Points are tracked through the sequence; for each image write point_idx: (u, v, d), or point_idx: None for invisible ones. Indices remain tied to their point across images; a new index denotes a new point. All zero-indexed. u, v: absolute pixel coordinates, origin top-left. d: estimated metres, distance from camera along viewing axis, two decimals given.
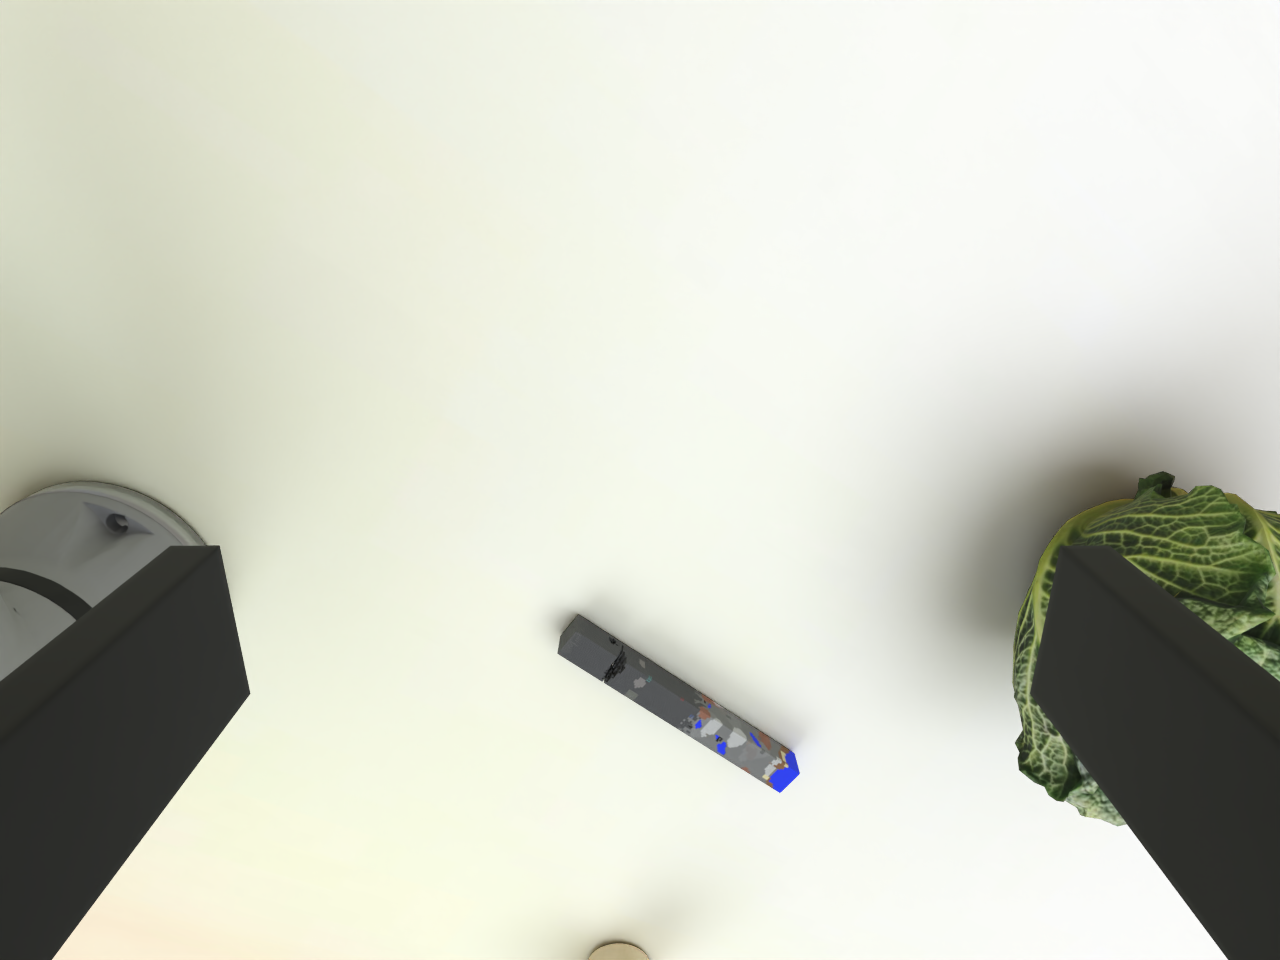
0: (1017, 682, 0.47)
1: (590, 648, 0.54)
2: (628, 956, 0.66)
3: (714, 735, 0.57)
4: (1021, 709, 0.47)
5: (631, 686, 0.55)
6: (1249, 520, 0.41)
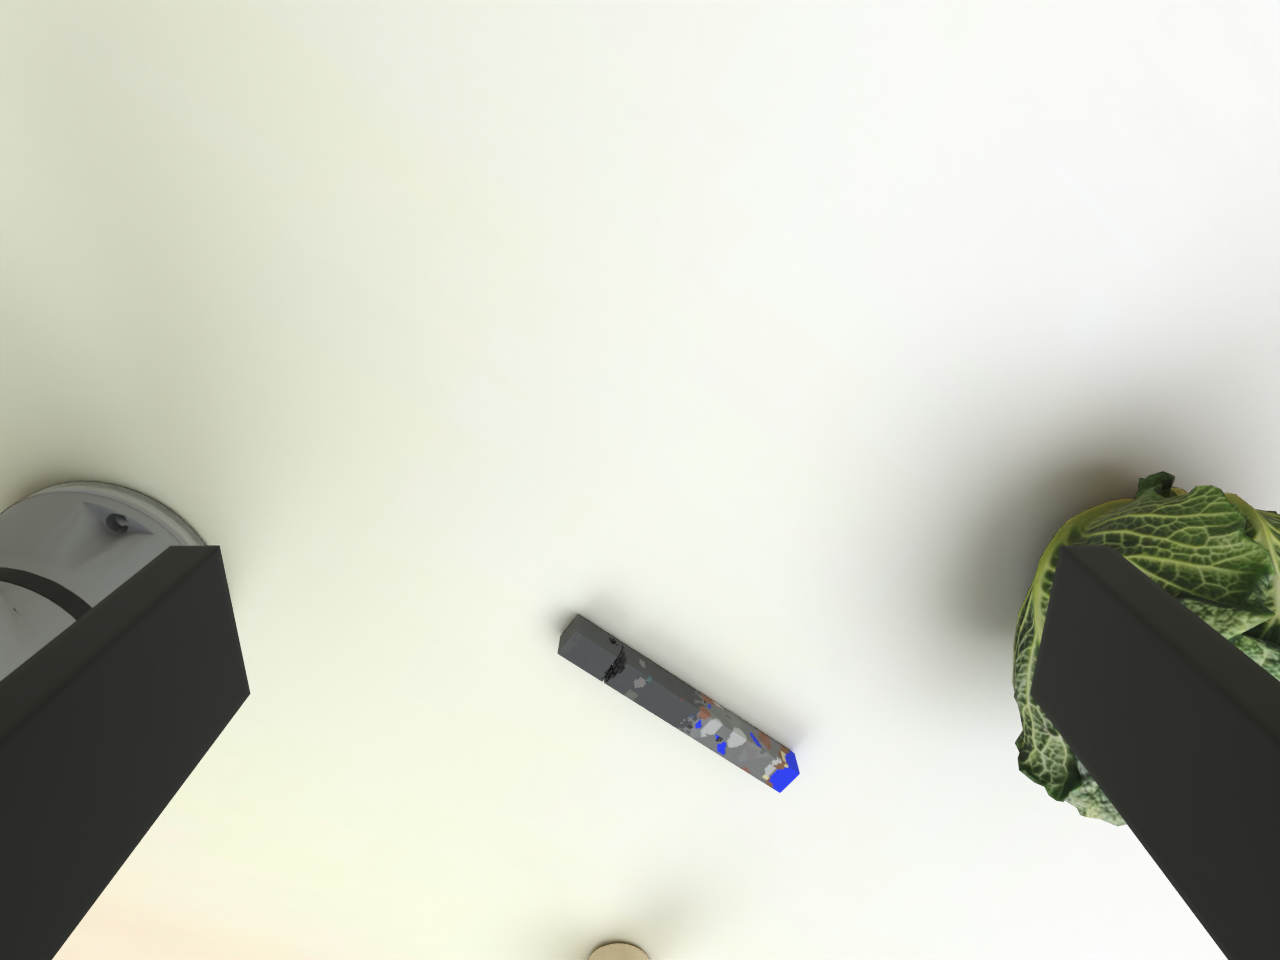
0: (1017, 682, 0.47)
1: (590, 648, 0.54)
2: (628, 956, 0.66)
3: (714, 735, 0.57)
4: (1021, 709, 0.47)
5: (631, 686, 0.55)
6: (1249, 520, 0.41)
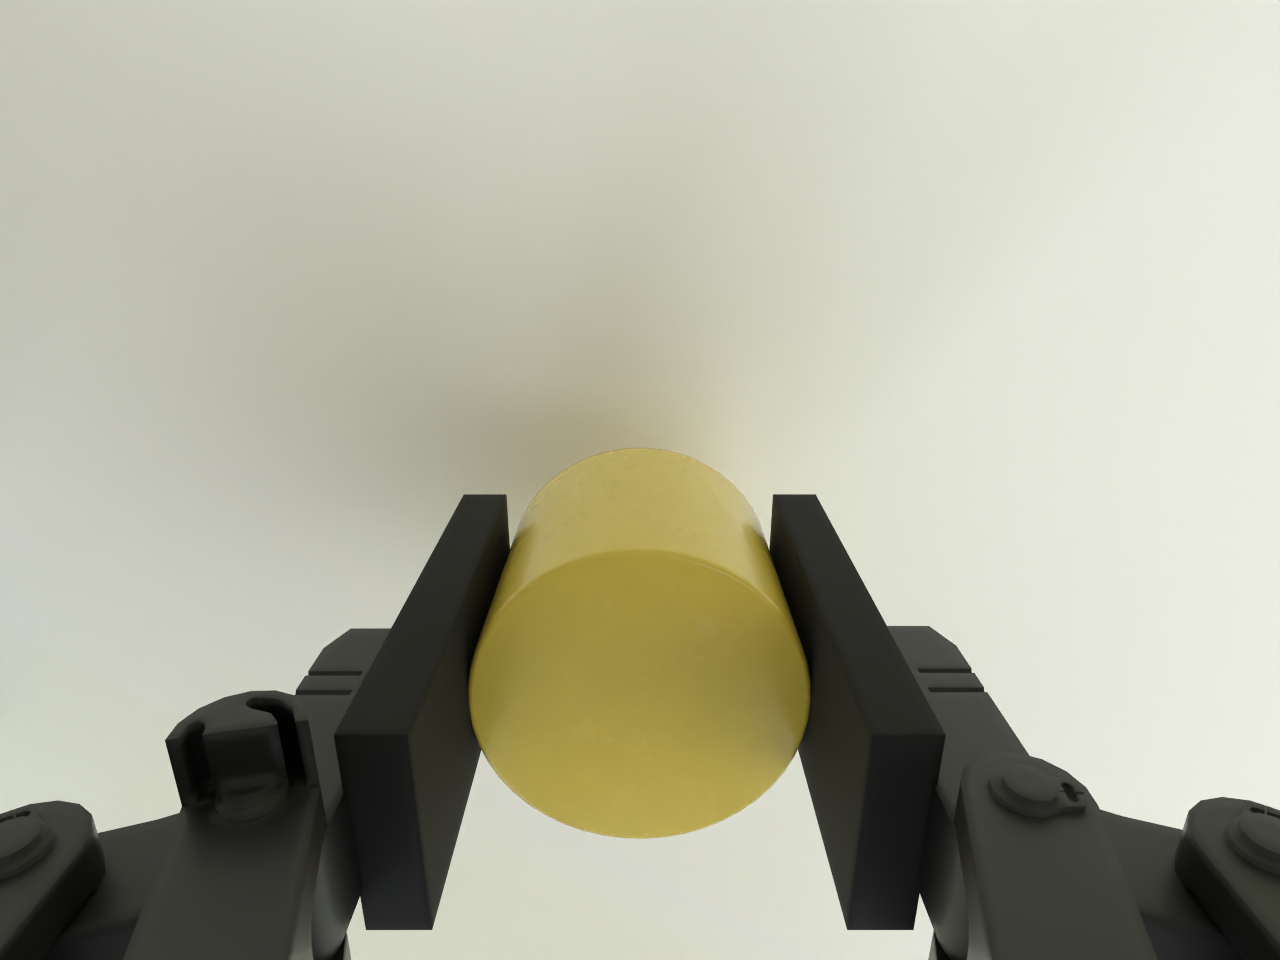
0: None
1: None
2: None
3: None
4: None
5: None
6: None
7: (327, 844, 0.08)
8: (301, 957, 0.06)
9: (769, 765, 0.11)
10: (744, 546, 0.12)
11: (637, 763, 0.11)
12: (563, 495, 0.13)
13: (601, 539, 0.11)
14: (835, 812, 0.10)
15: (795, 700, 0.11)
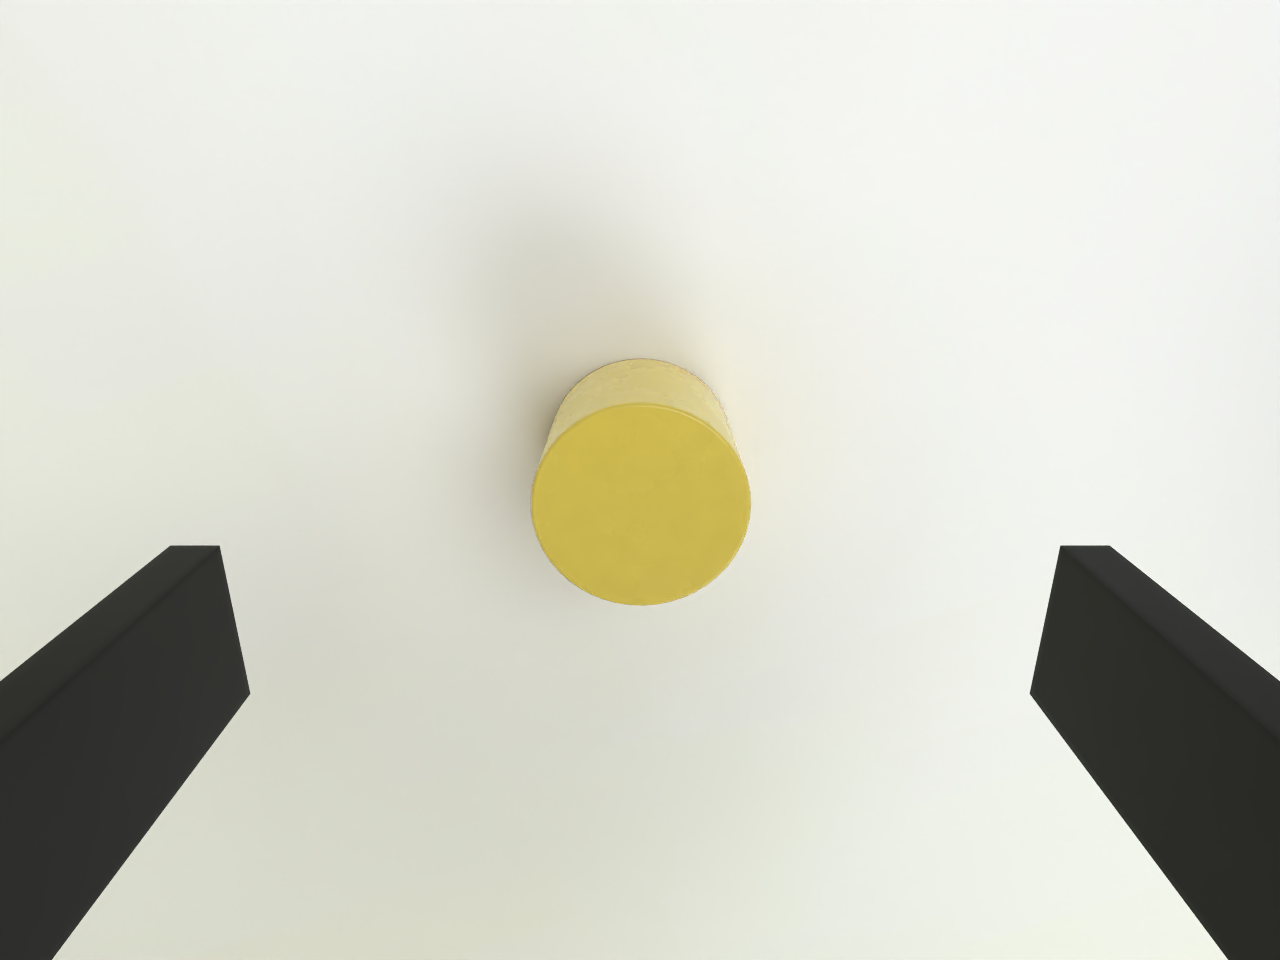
0: None
1: None
2: None
3: None
4: None
5: None
6: None
7: None
8: None
9: (724, 551, 0.18)
10: (709, 411, 0.18)
11: (639, 550, 0.18)
12: (589, 386, 0.19)
13: (616, 400, 0.17)
14: None
15: (740, 505, 0.17)
